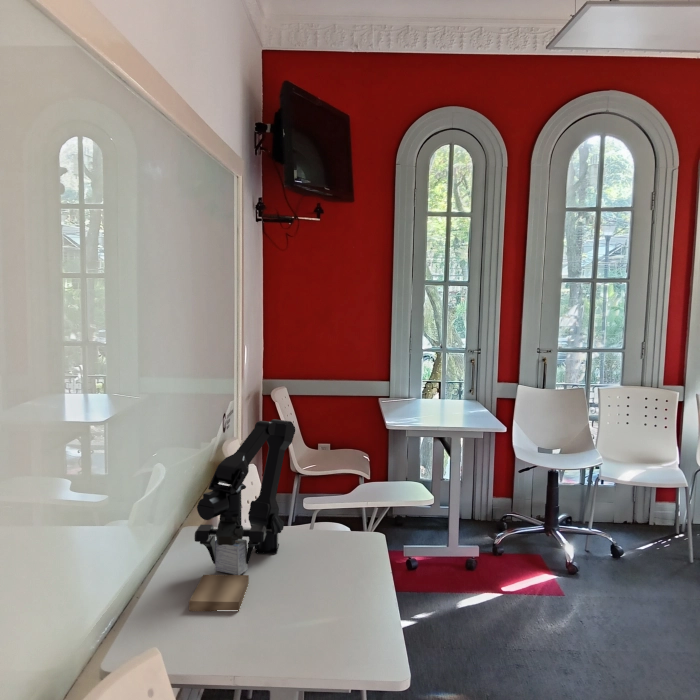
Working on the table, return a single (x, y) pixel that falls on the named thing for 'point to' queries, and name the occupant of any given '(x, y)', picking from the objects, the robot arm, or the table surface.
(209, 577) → the flat brown cardboard box
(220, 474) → the robot arm
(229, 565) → the medicine box
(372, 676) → the table surface
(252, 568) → the table surface
